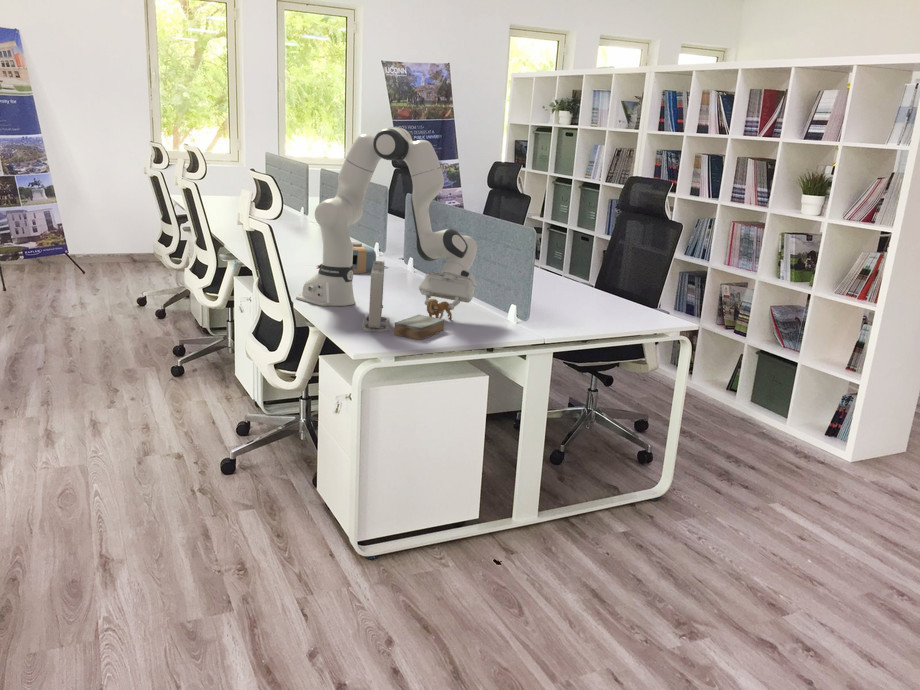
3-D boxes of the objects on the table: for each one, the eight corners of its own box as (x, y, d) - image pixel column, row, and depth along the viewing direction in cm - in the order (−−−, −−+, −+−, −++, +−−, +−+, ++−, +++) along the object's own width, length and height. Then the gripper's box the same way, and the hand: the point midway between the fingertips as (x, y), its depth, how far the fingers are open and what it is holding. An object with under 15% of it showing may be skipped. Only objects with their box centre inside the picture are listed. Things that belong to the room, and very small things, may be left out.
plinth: (393, 334, 261) (394, 322, 260) (418, 325, 275) (418, 314, 274) (420, 340, 257) (421, 328, 256) (443, 330, 271) (444, 319, 270)
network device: (364, 315, 284) (367, 259, 279) (389, 316, 285) (392, 261, 279) (361, 333, 259) (363, 272, 254) (388, 334, 260) (391, 274, 255)
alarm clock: (326, 269, 364) (326, 243, 361) (344, 263, 382) (345, 238, 379) (364, 274, 359) (366, 248, 356) (381, 268, 377) (383, 243, 374)
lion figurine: (435, 326, 277) (437, 300, 274) (422, 323, 279) (423, 298, 276) (454, 318, 289) (456, 294, 287) (441, 316, 292) (443, 292, 289)
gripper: (425, 266, 289) (410, 296, 283) (476, 274, 281) (461, 306, 275) (430, 277, 294) (415, 307, 288) (480, 285, 286) (466, 316, 280)
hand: (438, 306), depth 281 cm, fingers open, 8 cm apart
